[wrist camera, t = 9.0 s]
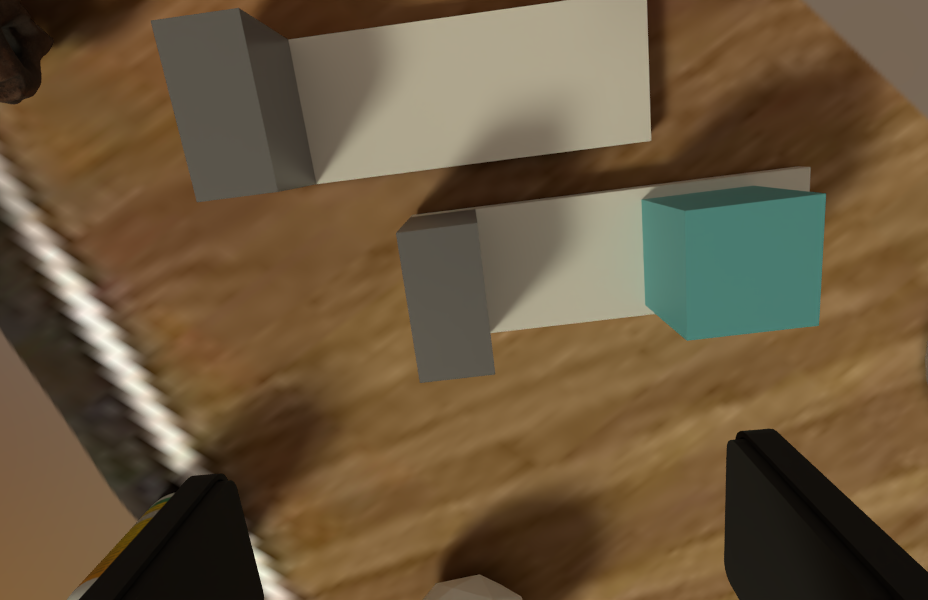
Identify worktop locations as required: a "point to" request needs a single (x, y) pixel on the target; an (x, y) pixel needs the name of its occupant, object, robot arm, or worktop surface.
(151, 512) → the supplement bottle
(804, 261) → the cube
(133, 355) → the worktop surface
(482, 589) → the ball
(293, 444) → the worktop surface
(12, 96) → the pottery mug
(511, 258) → the strip with cube
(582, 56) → the empty strip
